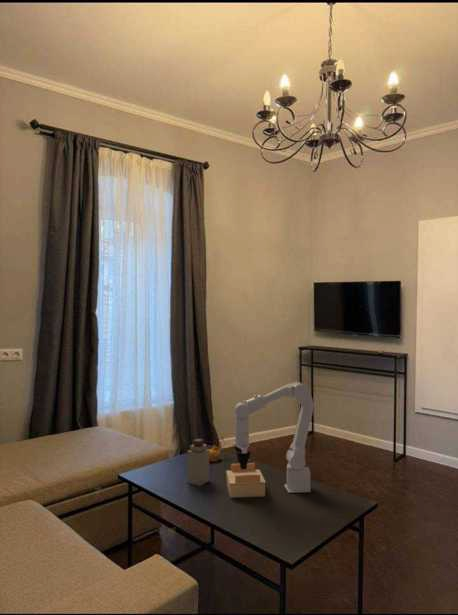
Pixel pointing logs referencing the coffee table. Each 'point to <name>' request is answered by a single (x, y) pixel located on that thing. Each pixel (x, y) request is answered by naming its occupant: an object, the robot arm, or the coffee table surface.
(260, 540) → the coffee table surface
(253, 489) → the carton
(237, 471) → the far panel
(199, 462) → the perfume bottle
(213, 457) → the magic lamp
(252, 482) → the near panel
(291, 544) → the coffee table surface
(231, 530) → the coffee table surface
